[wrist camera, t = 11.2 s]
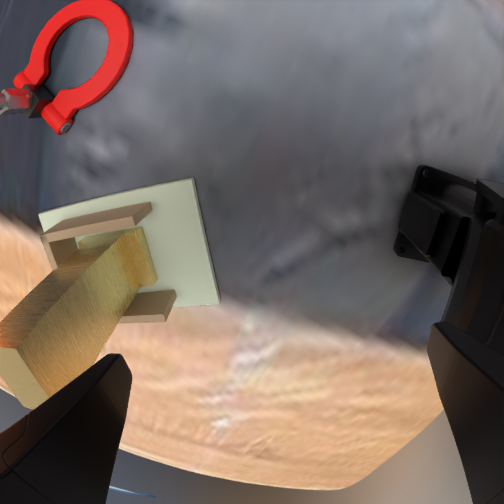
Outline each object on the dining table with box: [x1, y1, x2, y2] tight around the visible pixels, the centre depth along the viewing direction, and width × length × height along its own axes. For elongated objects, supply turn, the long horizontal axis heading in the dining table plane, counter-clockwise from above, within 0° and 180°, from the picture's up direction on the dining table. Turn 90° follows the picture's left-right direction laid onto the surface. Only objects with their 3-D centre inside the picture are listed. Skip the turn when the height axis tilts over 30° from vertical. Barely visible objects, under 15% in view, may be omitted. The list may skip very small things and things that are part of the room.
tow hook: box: [0, 0, 133, 135], centre depth 10 cm, size 8×13×9 cm
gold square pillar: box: [0, 226, 158, 409], centre depth 16 cm, size 5×4×12 cm
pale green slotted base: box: [39, 178, 221, 323], centre depth 20 cm, size 13×9×4 cm
